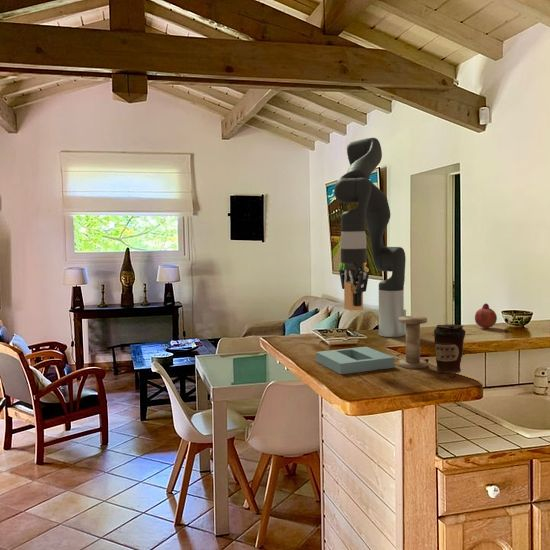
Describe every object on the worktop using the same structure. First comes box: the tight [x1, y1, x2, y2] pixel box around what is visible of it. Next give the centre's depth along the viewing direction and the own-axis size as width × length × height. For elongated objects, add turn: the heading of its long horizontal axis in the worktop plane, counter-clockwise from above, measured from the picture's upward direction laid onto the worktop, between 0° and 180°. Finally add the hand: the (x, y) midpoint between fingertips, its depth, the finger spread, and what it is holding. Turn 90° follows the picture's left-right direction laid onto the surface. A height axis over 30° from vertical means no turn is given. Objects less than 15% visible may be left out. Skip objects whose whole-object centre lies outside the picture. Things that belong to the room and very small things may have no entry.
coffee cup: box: [433, 323, 466, 374], centre depth 150 cm, size 9×8×13 cm
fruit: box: [474, 303, 498, 329], centre depth 212 cm, size 8×8×10 cm
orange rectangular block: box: [343, 282, 364, 312], centre depth 159 cm, size 4×4×8 cm
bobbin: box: [398, 315, 428, 370], centre depth 158 cm, size 8×8×14 cm
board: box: [315, 346, 396, 375], centre depth 160 cm, size 18×16×3 cm
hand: (353, 304), depth 159 cm, fingers closed on orange rectangular block, 4 cm apart
